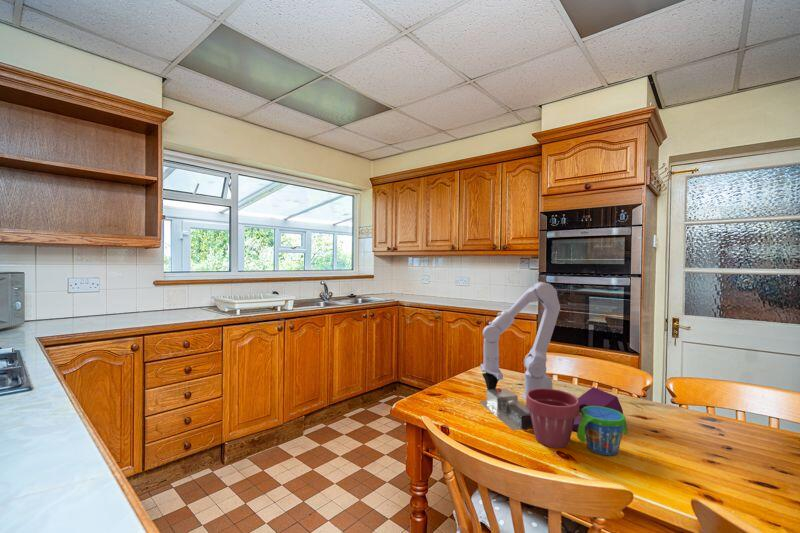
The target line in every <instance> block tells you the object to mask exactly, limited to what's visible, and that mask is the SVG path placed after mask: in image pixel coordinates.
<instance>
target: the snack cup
mask: <svg viewBox="0 0 800 533" xmlns="http://www.w3.org/2000/svg"><path fill="white" fill-rule="evenodd" d="M580 415H582V418H581V420H580V423H579V427H578V430H577V434H576V435H577V438H578V439H579V441H580V442H582V443H586V445H587V447H588V448H589V449H590V450H591V451H592V452H594V453H596V454H599V455H604V456H614V455H616V454H619V450H620V446H621V441H622V434H623V435H627V434H628V424H627V419H626V417H625V415H624V413H623V414H622V413H620V412H618V411H616V410H613V409H610V408H606V407H600V406H586V407H583V408H582V409H581V412H580Z"/></svg>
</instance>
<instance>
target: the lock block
mask: <svg viewBox="0 0 800 533" xmlns="http://www.w3.org/2000/svg"><path fill="white" fill-rule="evenodd" d="M518 397H519V396H518V395H517V393H514V392H513V391H511V390H510V389H508V388H506V387H504V388H503V387H502V388H496V389H491V390H487V389H486V401H487V402H489V403H490V404H491V405H492V406H494V407H495V408H496V409H497V410H498V409H502V402H504V401H505V402H506V403H508V404H509V405H516V406H517V407H518V402H519V401H518V399H519V398H518Z"/></svg>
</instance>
